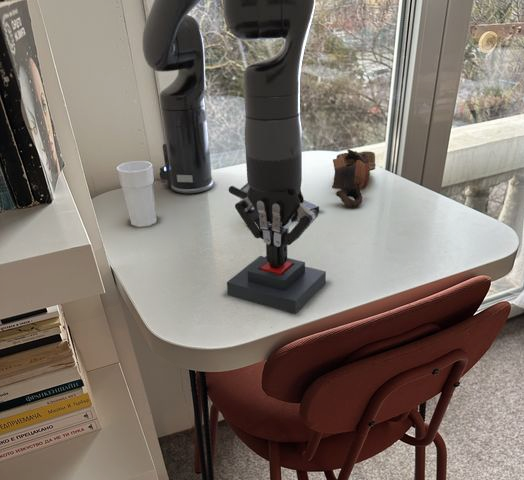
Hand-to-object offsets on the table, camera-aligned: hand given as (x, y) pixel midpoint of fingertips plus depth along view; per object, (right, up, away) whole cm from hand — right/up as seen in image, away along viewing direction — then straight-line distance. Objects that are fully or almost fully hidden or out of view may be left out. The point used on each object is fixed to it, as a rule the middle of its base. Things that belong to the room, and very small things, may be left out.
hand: (277, 265), depth 84 cm
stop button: (0, -1, +1) cm, 2 cm away
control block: (0, -3, +3) cm, 4 cm away
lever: (-2, +19, +20) cm, 28 cm away
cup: (-26, +13, +26) cm, 39 cm away
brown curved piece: (+14, +29, +38) cm, 49 cm away
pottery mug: (+12, +22, +28) cm, 38 cm away
